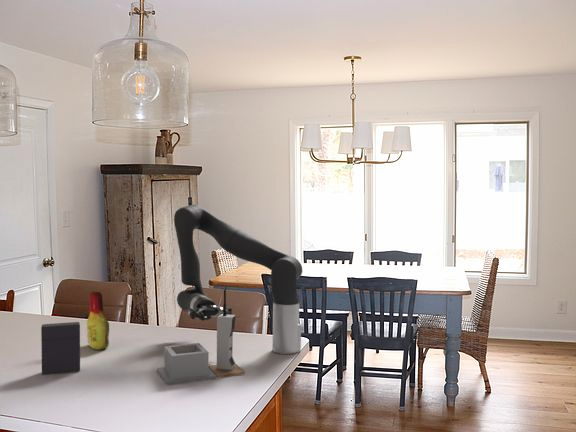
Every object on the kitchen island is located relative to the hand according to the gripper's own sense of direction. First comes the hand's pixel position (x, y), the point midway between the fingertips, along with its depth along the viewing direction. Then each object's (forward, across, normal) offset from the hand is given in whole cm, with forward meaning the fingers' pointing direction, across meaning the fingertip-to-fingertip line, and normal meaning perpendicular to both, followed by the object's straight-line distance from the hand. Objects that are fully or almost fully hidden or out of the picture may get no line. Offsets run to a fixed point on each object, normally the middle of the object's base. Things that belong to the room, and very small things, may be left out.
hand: (216, 316), depth 191 cm
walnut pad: (+11, 0, +15) cm, 19 cm away
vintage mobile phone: (+11, 0, +14) cm, 18 cm away
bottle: (-31, -34, +15) cm, 49 cm away
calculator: (-7, -48, +15) cm, 50 cm away
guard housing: (+10, -12, +15) cm, 22 cm away
